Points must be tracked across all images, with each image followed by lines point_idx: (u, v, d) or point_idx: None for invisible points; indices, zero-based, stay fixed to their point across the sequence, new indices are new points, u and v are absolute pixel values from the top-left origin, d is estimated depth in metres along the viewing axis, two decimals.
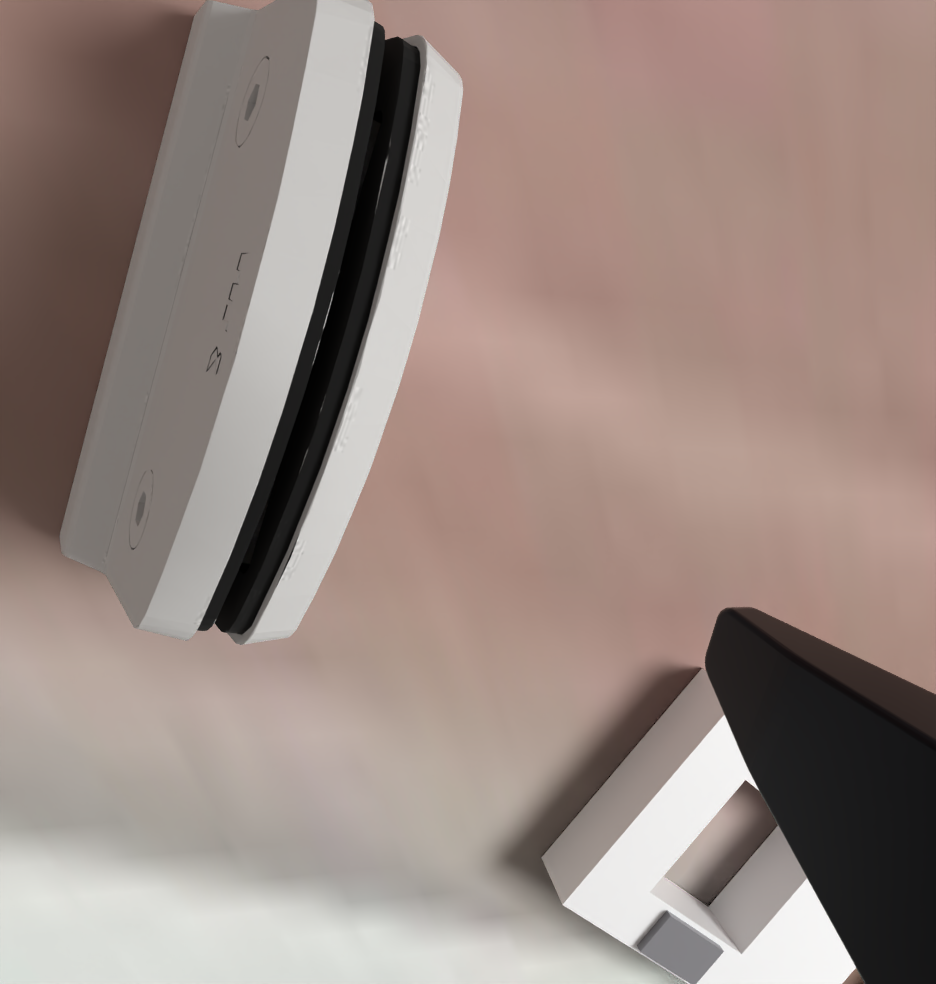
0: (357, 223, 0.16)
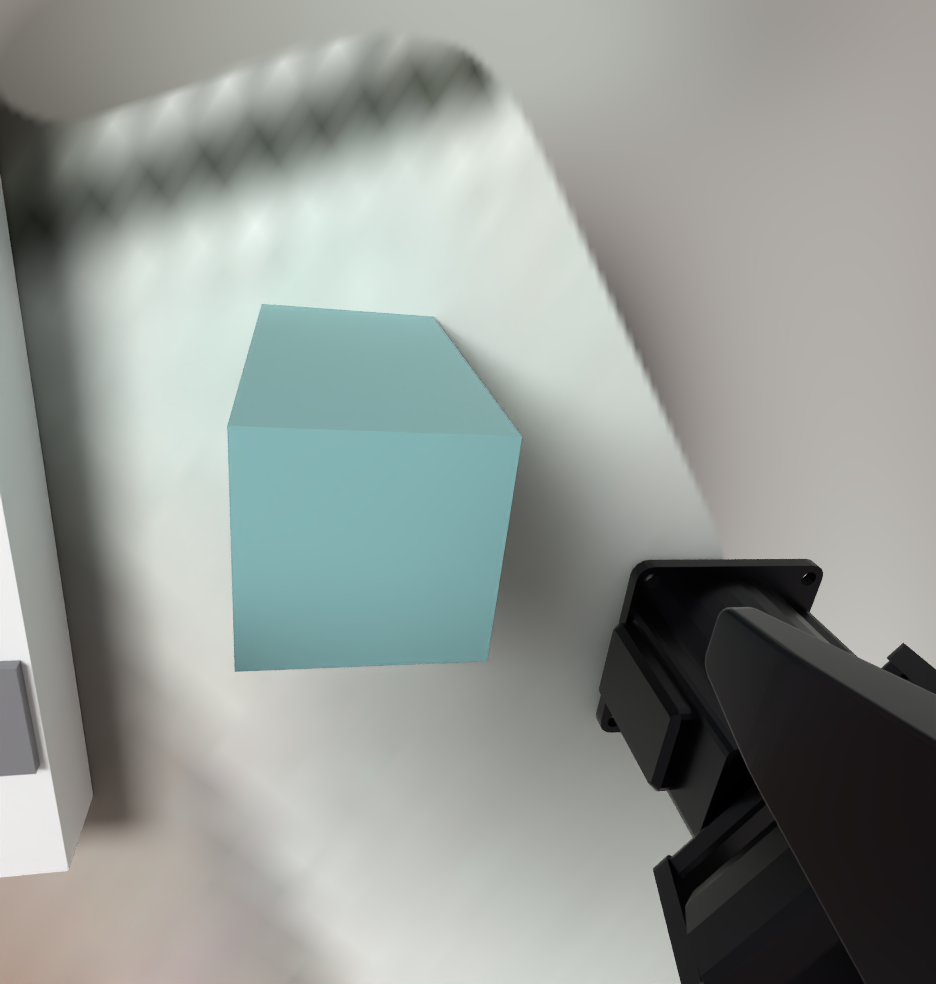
0: None
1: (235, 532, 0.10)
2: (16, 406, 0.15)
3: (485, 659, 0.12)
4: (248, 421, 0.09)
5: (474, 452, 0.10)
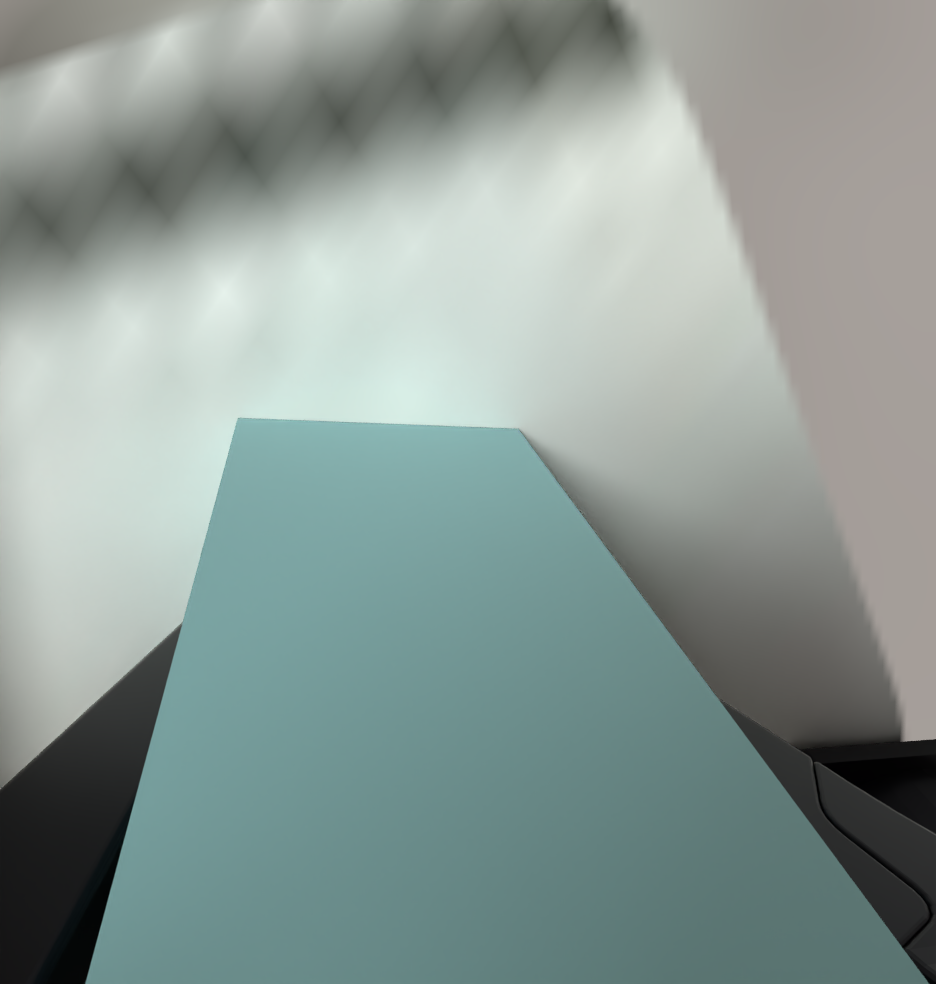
0: None
1: None
2: None
3: None
4: None
5: None
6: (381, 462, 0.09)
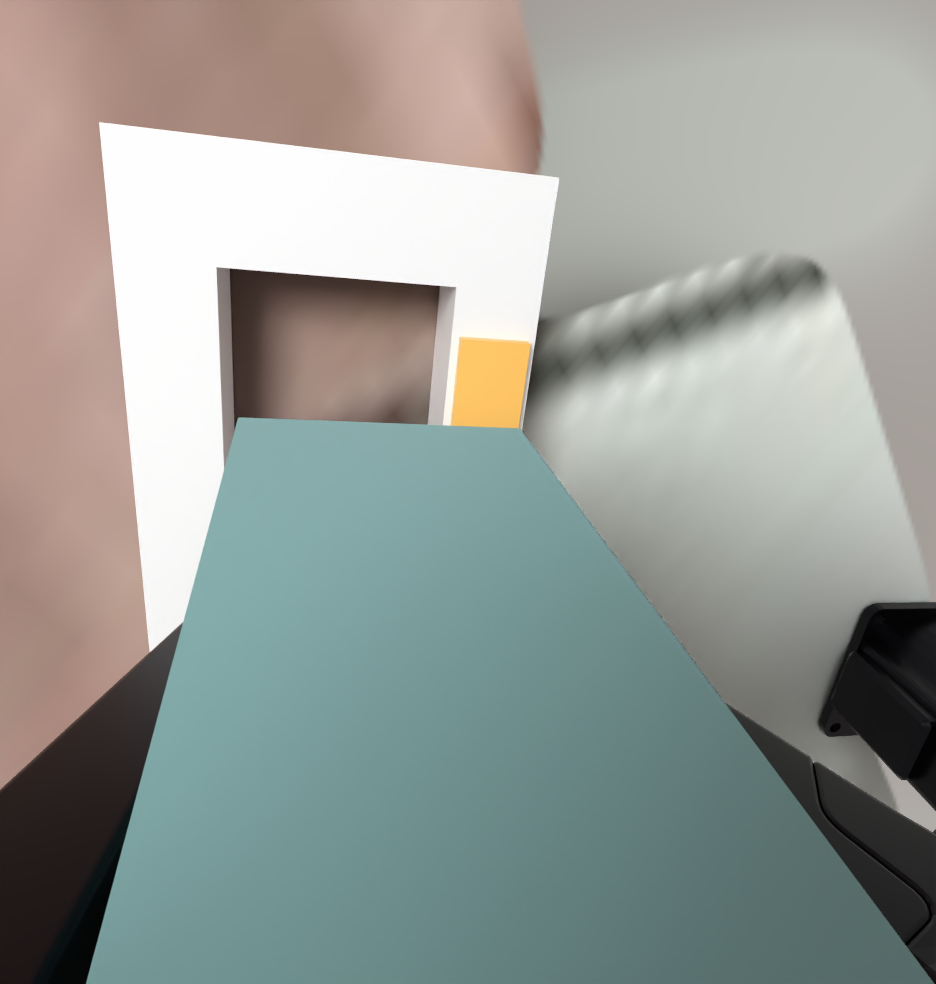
0: None
1: None
2: None
3: None
4: None
5: None
6: (382, 462, 0.09)
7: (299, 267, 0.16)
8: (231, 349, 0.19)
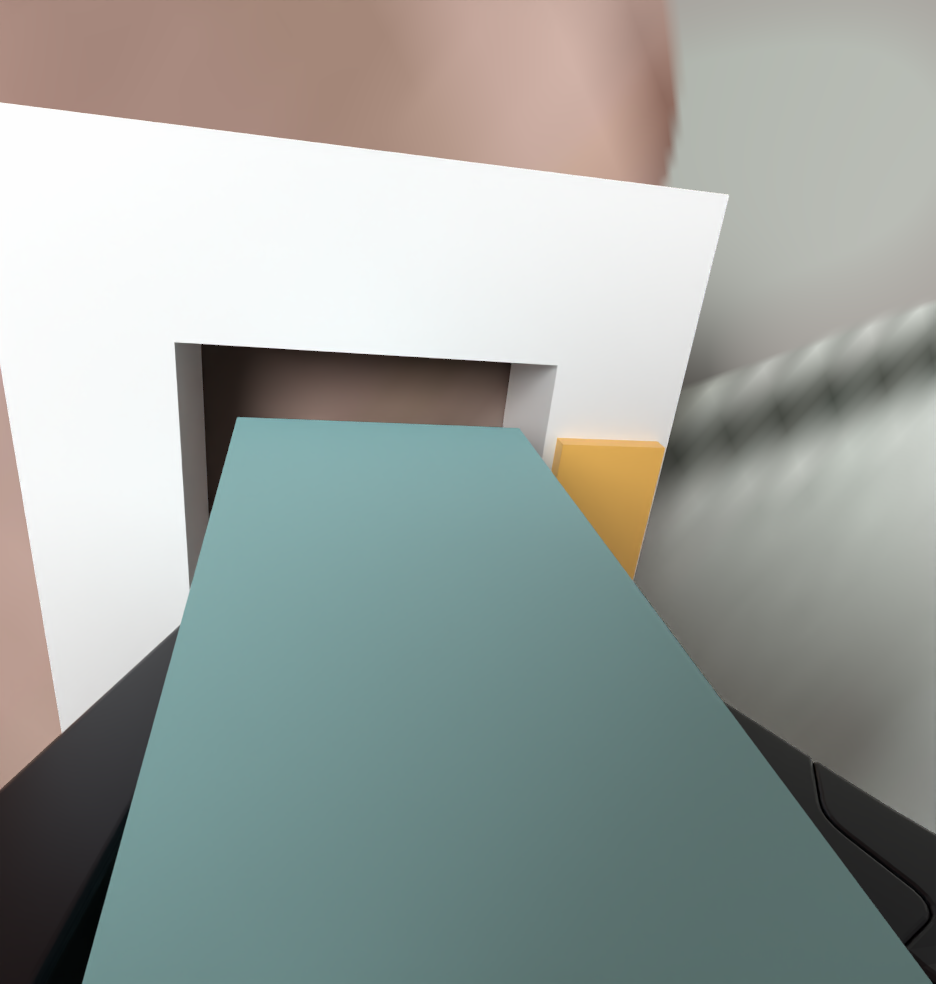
0: None
1: None
2: None
3: None
4: None
5: None
6: (381, 461, 0.09)
7: (311, 340, 0.10)
8: (204, 446, 0.13)
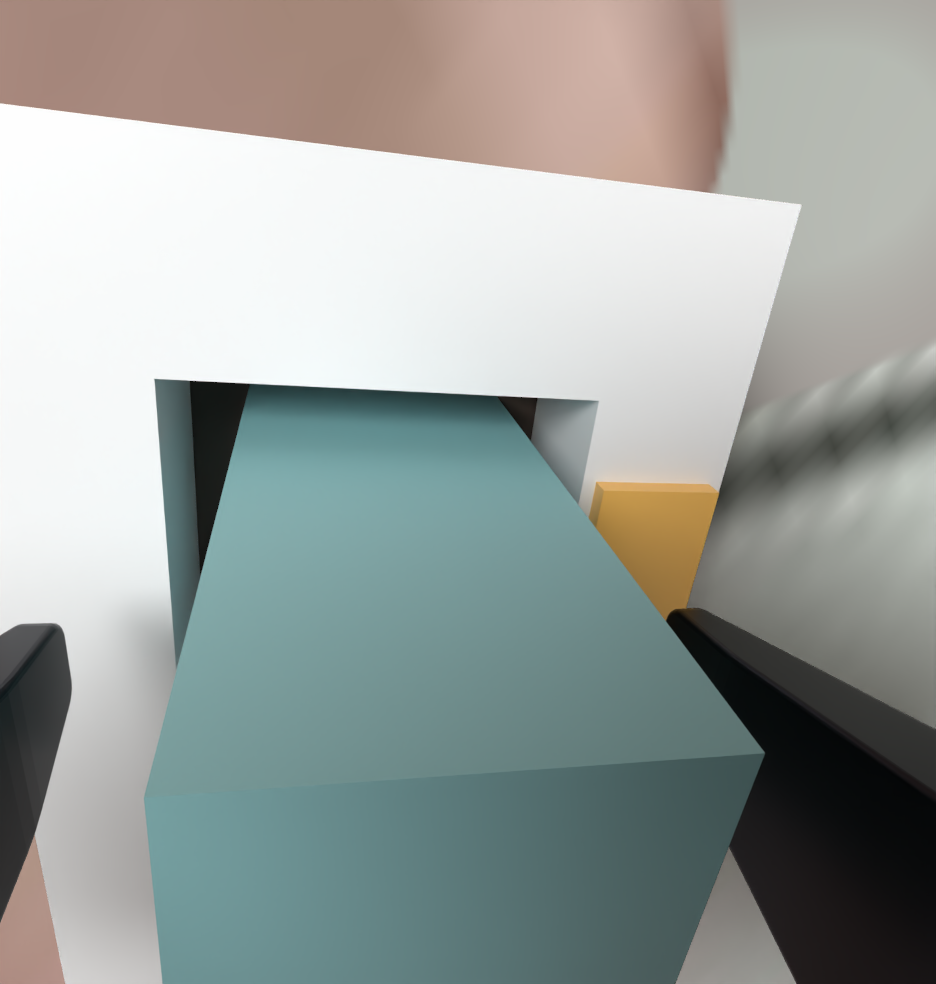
0: None
1: (170, 970, 0.05)
2: None
3: None
4: (197, 765, 0.04)
5: (668, 789, 0.05)
6: (374, 418, 0.10)
7: (315, 375, 0.09)
8: (193, 486, 0.11)
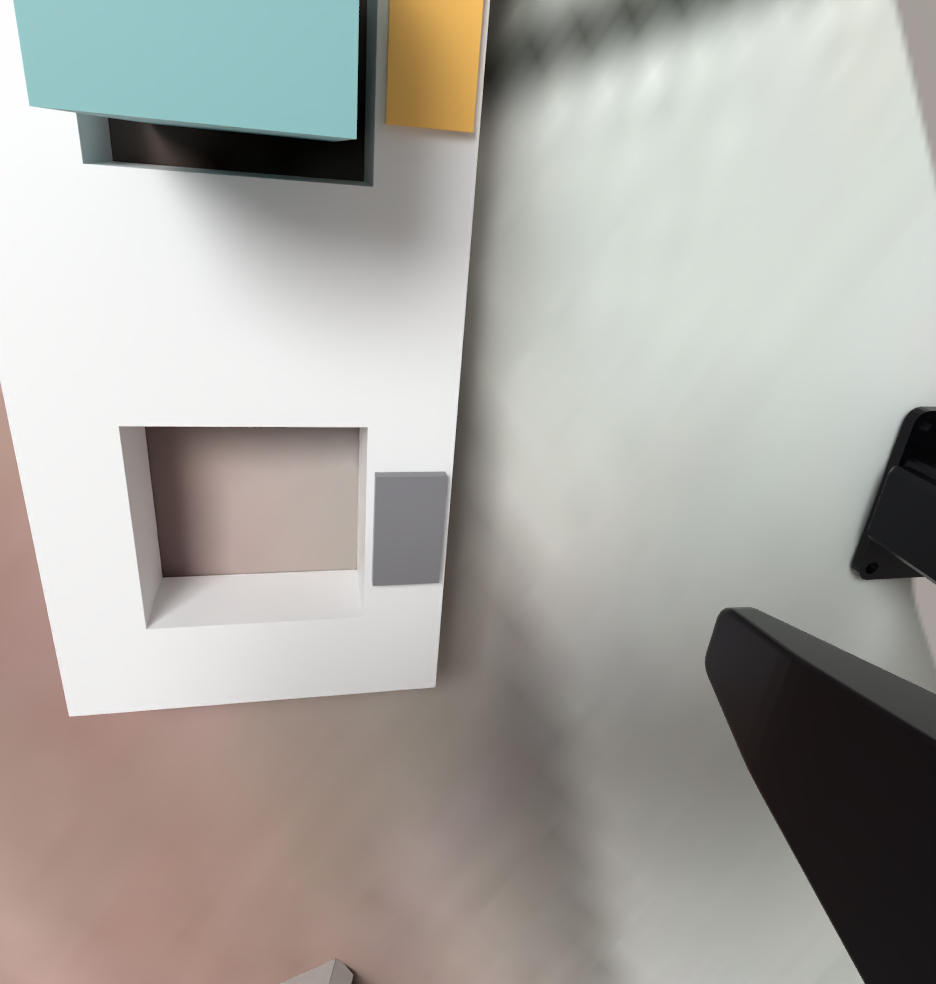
0: None
1: None
2: None
3: (354, 135, 0.10)
4: None
5: None
6: None
7: None
8: None
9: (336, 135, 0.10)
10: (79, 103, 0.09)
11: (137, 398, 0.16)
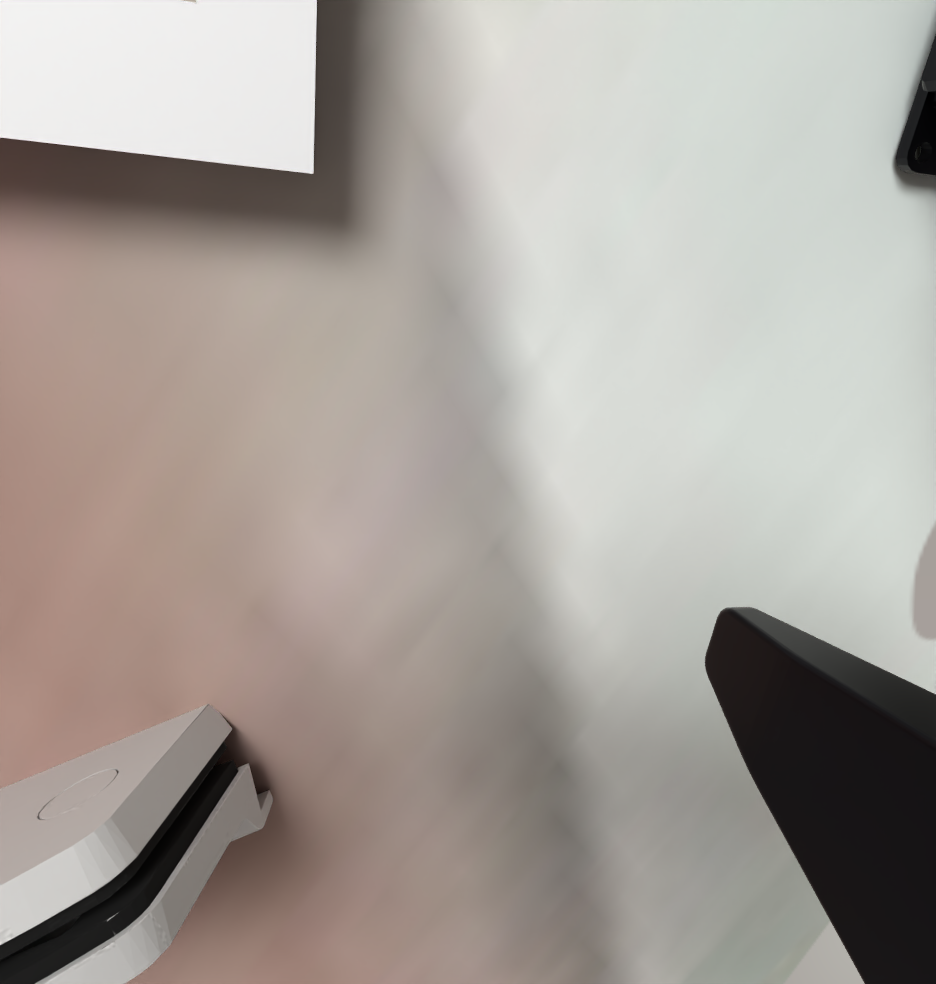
0: None
1: None
2: None
3: None
4: None
5: None
6: None
7: None
8: None
9: None
10: None
11: None
